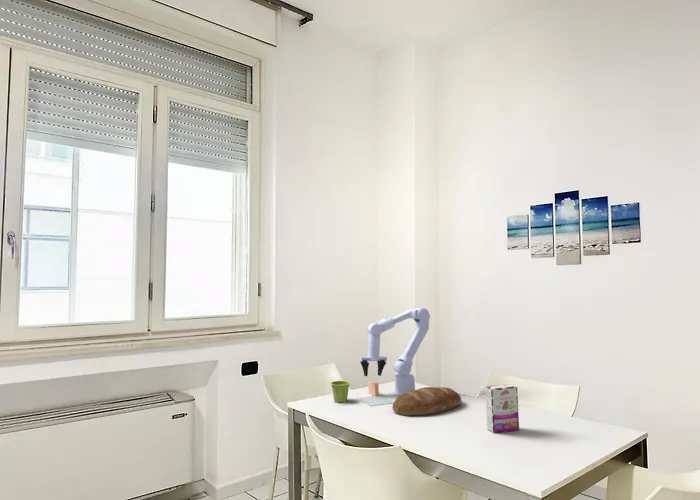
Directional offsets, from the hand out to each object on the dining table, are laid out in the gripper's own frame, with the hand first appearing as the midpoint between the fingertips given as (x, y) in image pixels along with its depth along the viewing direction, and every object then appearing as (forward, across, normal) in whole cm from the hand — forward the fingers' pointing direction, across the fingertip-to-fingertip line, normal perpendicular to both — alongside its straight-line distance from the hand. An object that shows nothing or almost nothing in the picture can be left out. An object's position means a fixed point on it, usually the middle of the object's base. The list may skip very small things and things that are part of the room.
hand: (372, 375), depth 251 cm
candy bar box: (+8, -16, +73) cm, 75 cm away
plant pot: (+11, +18, +3) cm, 21 cm away
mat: (+10, +4, +11) cm, 15 cm away
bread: (+9, -11, +32) cm, 35 cm away
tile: (+9, -1, 0) cm, 9 cm away
